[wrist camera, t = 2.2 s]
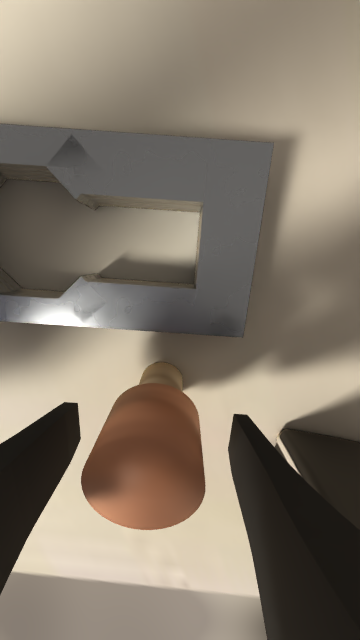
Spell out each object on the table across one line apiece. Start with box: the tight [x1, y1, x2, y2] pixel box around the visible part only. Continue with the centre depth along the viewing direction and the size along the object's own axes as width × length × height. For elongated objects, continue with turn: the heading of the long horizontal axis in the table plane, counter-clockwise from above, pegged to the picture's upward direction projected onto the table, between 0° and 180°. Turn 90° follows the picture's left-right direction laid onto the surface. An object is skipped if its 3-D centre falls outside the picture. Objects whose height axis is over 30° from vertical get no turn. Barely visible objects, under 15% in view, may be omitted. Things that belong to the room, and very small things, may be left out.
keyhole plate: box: [0, 124, 274, 337], centre depth 10 cm, size 14×8×2 cm, turn 86°
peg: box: [81, 362, 205, 530], centre depth 10 cm, size 4×4×6 cm
